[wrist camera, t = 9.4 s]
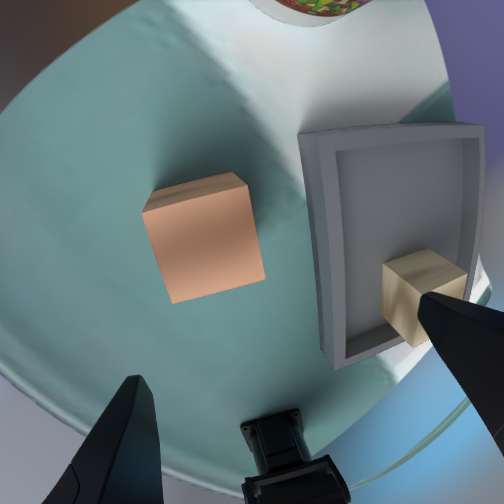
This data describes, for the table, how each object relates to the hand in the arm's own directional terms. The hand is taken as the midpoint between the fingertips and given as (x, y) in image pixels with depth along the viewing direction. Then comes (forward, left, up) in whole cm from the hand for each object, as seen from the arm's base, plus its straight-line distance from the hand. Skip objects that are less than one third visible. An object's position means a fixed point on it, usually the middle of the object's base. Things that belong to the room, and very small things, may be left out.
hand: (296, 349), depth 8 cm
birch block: (-8, -13, -11) cm, 19 cm away
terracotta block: (+1, +2, -12) cm, 12 cm away
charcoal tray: (-4, -13, -12) cm, 19 cm away
